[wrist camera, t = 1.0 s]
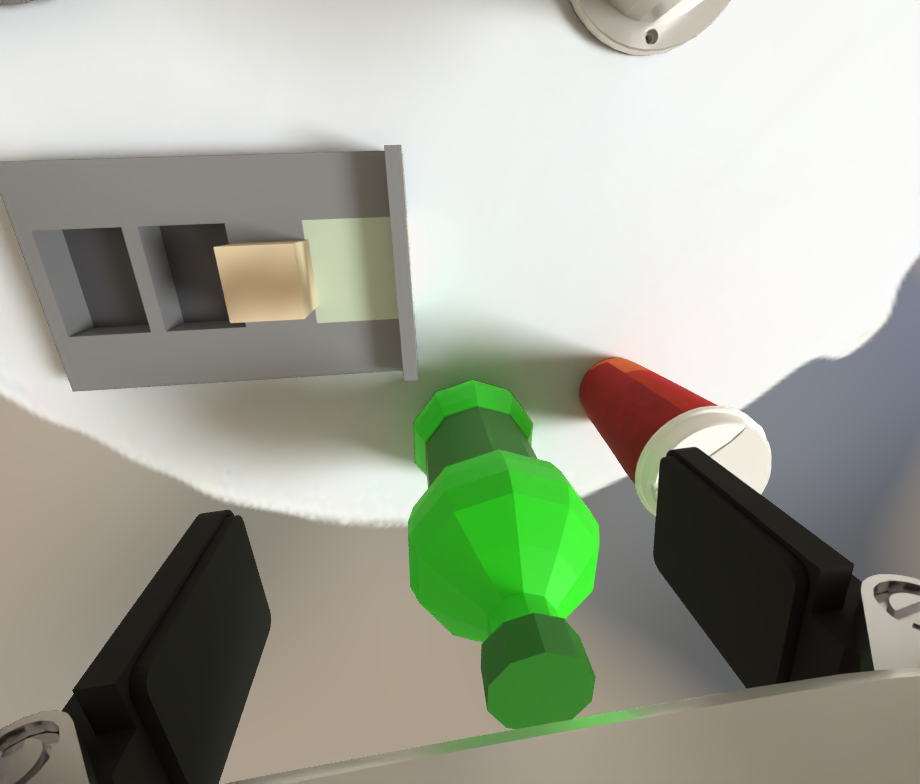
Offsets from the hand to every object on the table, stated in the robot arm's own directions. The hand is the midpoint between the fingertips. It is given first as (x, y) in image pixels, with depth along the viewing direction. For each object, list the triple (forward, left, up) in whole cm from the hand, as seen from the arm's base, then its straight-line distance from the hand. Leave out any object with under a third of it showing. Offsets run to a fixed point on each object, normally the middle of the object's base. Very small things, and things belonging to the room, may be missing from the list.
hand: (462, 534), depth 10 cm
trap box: (-3, -14, -28) cm, 32 cm away
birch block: (-3, -10, -25) cm, 28 cm away
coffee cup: (+8, +16, -29) cm, 34 cm away
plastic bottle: (+10, +3, -29) cm, 31 cm away
